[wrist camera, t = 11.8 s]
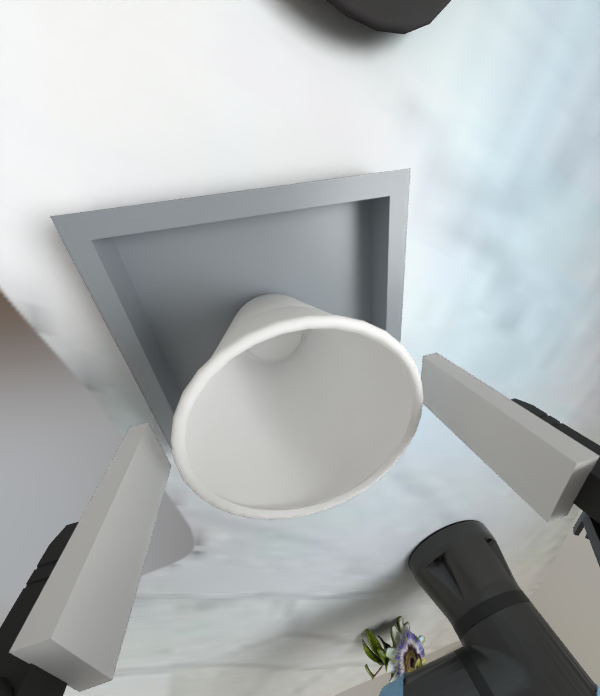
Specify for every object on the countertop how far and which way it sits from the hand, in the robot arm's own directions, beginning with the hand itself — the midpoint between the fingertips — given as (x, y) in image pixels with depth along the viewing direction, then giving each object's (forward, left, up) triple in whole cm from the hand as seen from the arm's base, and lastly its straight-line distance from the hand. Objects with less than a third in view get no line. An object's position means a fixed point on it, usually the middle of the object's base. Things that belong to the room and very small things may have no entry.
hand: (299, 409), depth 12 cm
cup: (+1, 0, -9) cm, 9 cm away
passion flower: (-76, -12, -10) cm, 77 cm away
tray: (0, 0, -10) cm, 10 cm away
